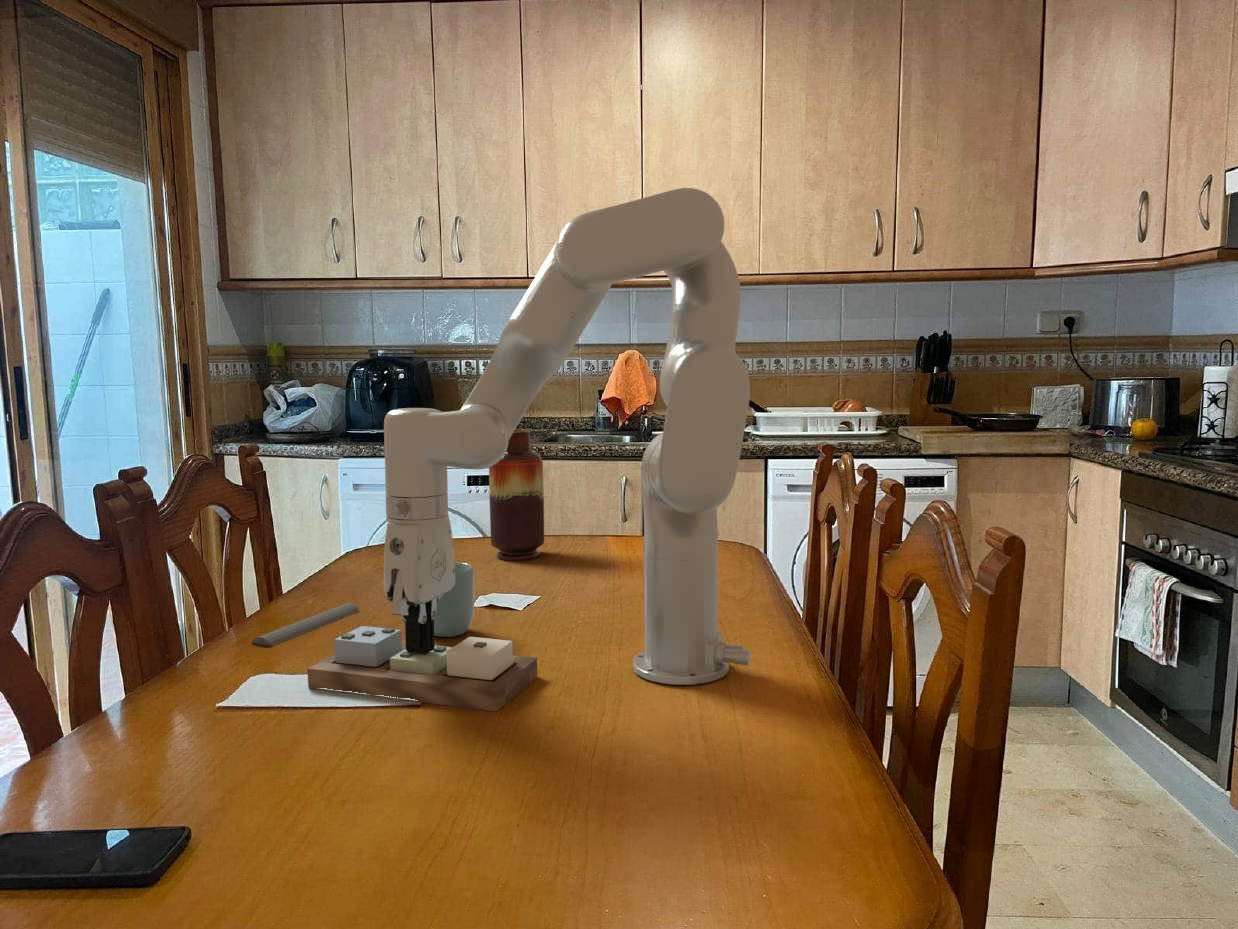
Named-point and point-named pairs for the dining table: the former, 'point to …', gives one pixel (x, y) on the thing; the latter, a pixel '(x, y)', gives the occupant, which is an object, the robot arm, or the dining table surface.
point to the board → (425, 683)
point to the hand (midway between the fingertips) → (420, 650)
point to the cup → (456, 604)
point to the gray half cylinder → (306, 625)
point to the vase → (517, 501)
